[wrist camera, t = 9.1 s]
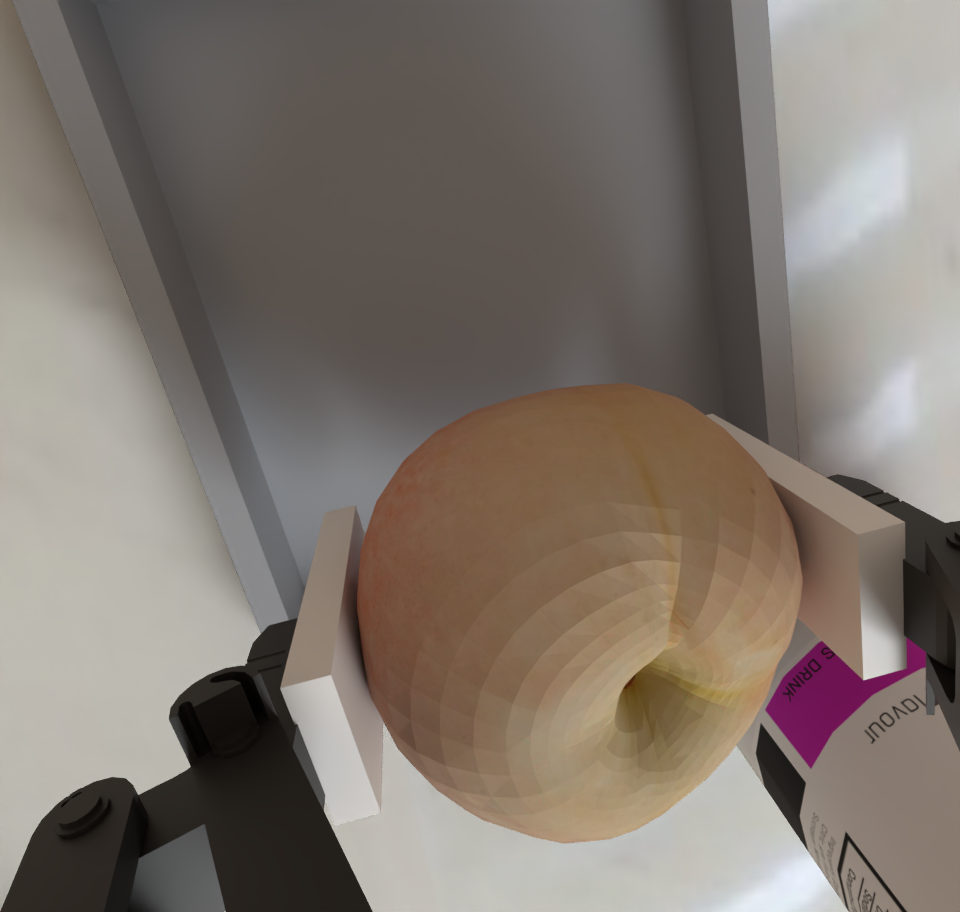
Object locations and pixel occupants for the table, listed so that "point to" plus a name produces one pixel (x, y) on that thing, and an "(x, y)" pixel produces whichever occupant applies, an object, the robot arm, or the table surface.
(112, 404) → the table surface
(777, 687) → the supplement can
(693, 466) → the fruit
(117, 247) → the tray
